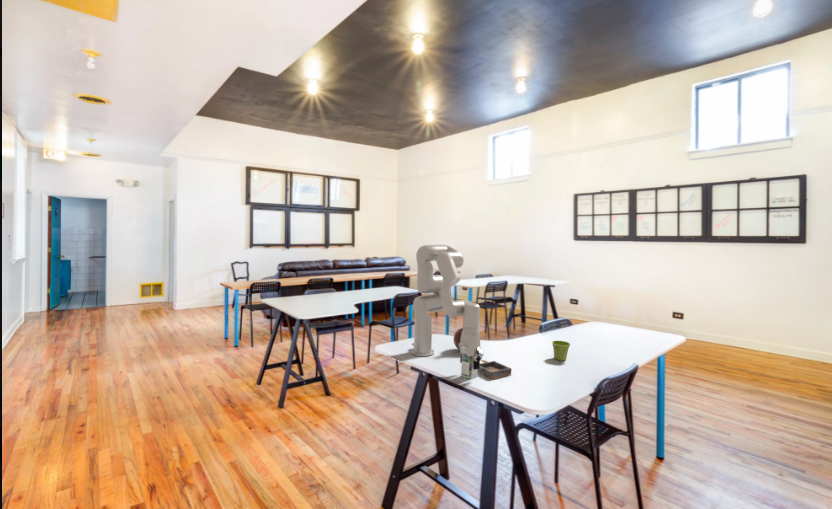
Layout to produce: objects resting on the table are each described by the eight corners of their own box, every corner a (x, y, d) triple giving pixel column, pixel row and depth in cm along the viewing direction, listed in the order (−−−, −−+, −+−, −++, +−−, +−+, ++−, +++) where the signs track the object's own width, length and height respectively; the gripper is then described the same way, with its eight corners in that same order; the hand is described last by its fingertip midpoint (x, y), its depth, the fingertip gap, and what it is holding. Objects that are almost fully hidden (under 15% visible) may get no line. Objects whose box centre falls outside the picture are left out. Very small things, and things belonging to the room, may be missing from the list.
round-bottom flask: (476, 355, 230) (478, 319, 228) (452, 353, 232) (453, 317, 230) (477, 348, 242) (478, 314, 241) (453, 346, 244) (455, 312, 243)
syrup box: (460, 376, 199) (461, 345, 198) (468, 373, 203) (469, 343, 202) (470, 379, 195) (471, 348, 194) (477, 376, 199) (479, 346, 198)
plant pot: (570, 362, 223) (571, 346, 222) (552, 360, 225) (552, 344, 224) (568, 356, 232) (569, 341, 231) (550, 355, 234) (550, 339, 233)
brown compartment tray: (465, 366, 213) (465, 359, 213) (483, 362, 219) (483, 356, 219) (492, 379, 196) (492, 372, 196) (511, 374, 202) (511, 368, 202)
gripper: (453, 326, 203) (452, 361, 204) (476, 335, 188) (475, 373, 189) (465, 324, 207) (464, 359, 208) (489, 333, 192) (488, 370, 193)
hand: (469, 365), depth 199 cm, fingers open, 9 cm apart
